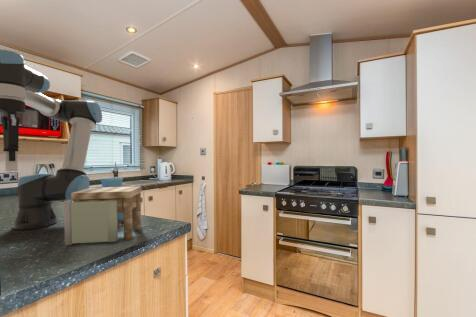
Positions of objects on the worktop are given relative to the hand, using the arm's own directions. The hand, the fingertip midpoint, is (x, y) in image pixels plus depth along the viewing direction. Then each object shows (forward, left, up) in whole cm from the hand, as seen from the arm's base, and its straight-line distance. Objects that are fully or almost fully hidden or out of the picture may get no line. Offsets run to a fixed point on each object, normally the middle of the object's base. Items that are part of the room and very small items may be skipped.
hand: (11, 171), depth 77 cm
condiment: (0, +39, -27) cm, 47 cm away
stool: (+11, +26, -26) cm, 39 cm away
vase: (-12, +37, -27) cm, 47 cm away
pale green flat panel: (+16, +18, -26) cm, 35 cm away
